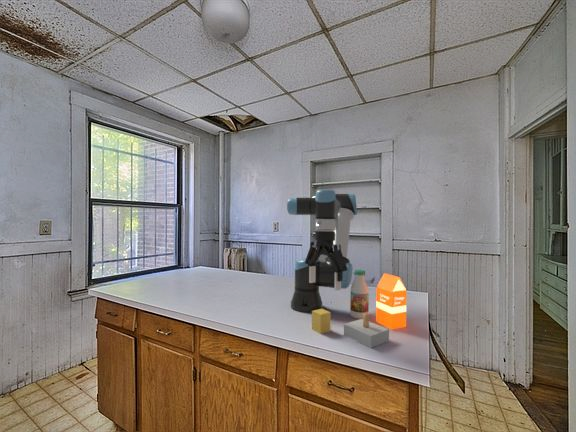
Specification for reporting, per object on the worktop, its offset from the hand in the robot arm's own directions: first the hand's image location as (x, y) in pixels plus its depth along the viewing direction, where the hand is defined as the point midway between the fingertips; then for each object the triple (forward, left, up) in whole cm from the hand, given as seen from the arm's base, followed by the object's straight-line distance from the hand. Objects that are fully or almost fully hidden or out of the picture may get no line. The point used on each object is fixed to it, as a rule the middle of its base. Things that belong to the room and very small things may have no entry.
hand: (324, 286), depth 105 cm
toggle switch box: (+13, +8, -17) cm, 23 cm away
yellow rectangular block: (-1, -1, -17) cm, 17 cm away
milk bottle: (-3, +23, -17) cm, 29 cm away
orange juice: (+10, +27, -17) cm, 34 cm away
